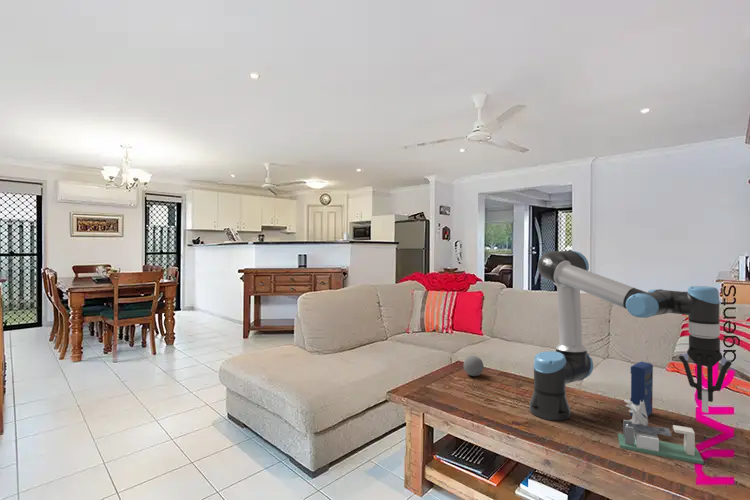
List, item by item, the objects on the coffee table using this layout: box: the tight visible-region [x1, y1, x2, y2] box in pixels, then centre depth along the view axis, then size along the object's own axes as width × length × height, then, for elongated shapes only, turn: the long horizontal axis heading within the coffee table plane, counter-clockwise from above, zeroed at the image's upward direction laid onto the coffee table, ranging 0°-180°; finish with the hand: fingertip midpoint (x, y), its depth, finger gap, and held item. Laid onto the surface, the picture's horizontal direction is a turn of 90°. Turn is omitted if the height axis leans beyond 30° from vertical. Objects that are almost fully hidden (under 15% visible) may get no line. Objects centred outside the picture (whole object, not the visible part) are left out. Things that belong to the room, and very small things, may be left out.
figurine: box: [623, 398, 649, 426], centre depth 144 cm, size 11×8×12 cm
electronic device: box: [629, 361, 654, 419], centre depth 156 cm, size 10×5×20 cm, turn 127°
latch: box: [672, 424, 696, 456], centre depth 128 cm, size 5×4×7 cm
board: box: [617, 419, 705, 465], centre depth 131 cm, size 22×9×7 cm, turn 63°
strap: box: [625, 422, 672, 437], centre depth 132 cm, size 12×4×2 cm, turn 63°
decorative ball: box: [463, 355, 485, 377], centre depth 203 cm, size 10×10×10 cm
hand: (705, 410), depth 124 cm, fingers closed
